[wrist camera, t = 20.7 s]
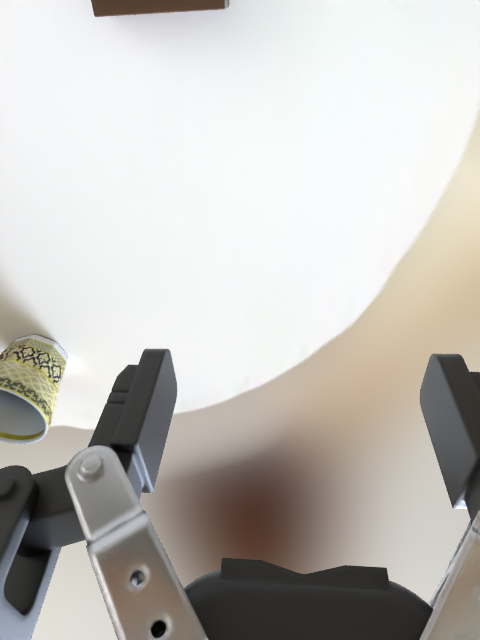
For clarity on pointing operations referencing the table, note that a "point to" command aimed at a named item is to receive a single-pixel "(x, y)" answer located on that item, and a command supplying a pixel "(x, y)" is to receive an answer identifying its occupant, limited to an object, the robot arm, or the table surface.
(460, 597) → the robot arm
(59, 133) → the table surface
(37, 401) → the ceramic cup
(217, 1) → the walnut rest
